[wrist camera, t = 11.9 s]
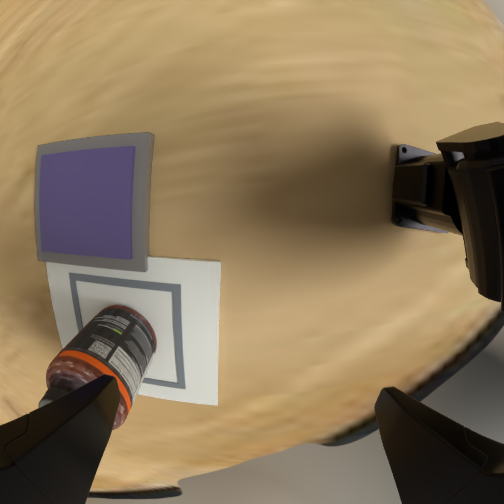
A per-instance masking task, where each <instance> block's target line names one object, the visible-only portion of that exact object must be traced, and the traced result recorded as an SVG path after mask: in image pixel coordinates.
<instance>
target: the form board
mask: <svg viewBox="0 0 504 504" xmlns="http://www.w3.org/2000/svg"><path fill="white" fill-rule="evenodd" d="M46 267H47V275H48V282H49V288H50V294H51V300H52V305H53V310H54V315H55V320H56V324H57V329H58V333H59V337H60V341H61V344H62V348H64V347H65V346H66V345H67V344H68V343H69V342H70V341H71V340H72V339H73V338H74V337H75V336H76V335H77V334H78V333H79V332H80V331H81V330H82V329H83V328H84V327H85V326H86V325H87V324H88V323H89V322H90V320H92V319H93V317H95V316H96V315H97V314H98V313H99V312H100V311H101V310H102V309H104V308H106V307H108V306H112V305H121V306H126V307H129V308H131V309H134V310H135V311H137V312H138V313H140V314H141V315H142V316H143V317H145V318H146V319H147V321H148V322H149V323H150V325H151V326H152V328H153V330H154V332H155V336H156V340H157V348H156V352H155V354H154V357H153V360H152V362H151V364H150V366H149V369H148V371H147V374H146V375H145V377H144V380H143V382H142V384H141V386H140V389H139V391H138V393H137V394H139V395H144V396H149V397H155V398H161V399H167V400H174V401H181V402H189V403H197V404H207V405H218V343H219V307H220V280H221V261H215V260H200V259H186V258H172V257H159V256H148V270H147V271H146V272H135V271H125V270H115V269H105V268H96V267H86V266H78V265H69V264H60V263H52V262H46Z"/></svg>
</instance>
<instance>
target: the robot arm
mask: <svg viewBox="0 0 504 504" xmlns="http://www.w3.org/2000/svg"><path fill="white" fill-rule="evenodd" d="M436 144H437V147H438V149H439V150H440V151H441V154H435V153H432V152H429V151H426V150H422V149H419V148H416V147H412V146H409V145H406V144H401V145H399V146H398V147H397V158H396V167H395V172H394V186H393V210H392V218H391V219H392V223H393V224H394V225H396V226H401V227H408V228H415V229H422V230H429V231H436V232H442V233H448V232H452V233H455V234H458V235H462V236H463V239H464V245H465V252H466V259H465V261H466V267H467V268H468V269H469V273H470V279H471V280H472V282H473V283H474V284H475V286H476V287H477V288H478V293H479V294H481V295H482V296H484V297H486V298H488V299H490V300H493V301H497V302H501V310H502V311H504V123H500V122H494V123H489V124H484V125H480V126H475V127H472V128H470V129H467V130H464V131H462V132H459V133H457V134H454V135H452V136H449V137H447V138H444V139H442V140H440V141H437V142H436ZM402 148H403V149H404V153H403V152H402ZM397 217H399V221H398V222H397V220H396V219H397ZM120 399H121V394H120V390H119V386H118V382H117V379H116V377H114V376H111V375H107V374H104V375H101V376H100V377H98V378H96V379H94V380H92V381H90V382H88V383H87V384H85V385H83V386H81V387H79V388H77V389H75V390H73V391H71V392H69V393H68V394H66V395H64V396H62V397H60V398H58V399H56V400H54V401H52V402H50V403H48V404H46V405H44V406H42V407H40V408H38V409H36V410H34V411H32V412H30V413H29V414H26V415H24V416H22V417H19V418H17V419H15V420H13V421H10V422H8V423H5V424H3V425H0V504H85V502H86V499H87V497H88V494H89V491H90V488H91V485H92V482H93V480H94V477H95V474H96V471H97V469H98V466H99V463H100V461H101V458H102V456H103V453H104V451H105V448H106V446H107V443H108V441H109V438H110V435H111V432H112V428H113V425H114V421H115V417H116V414H117V410H118V407H119V403H120ZM375 414H376V418H377V422H378V426H379V431H380V435H381V439H382V443H383V446H384V449H385V452H386V455H387V458H388V461H389V464H390V467H391V470H392V473H393V476H394V479H395V482H396V486H397V489H398V492H399V495H400V499H401V502H402V504H504V444H502V443H500V442H497V441H494V440H492V439H489V438H487V437H485V436H482V435H480V434H478V433H476V432H474V431H472V430H470V429H468V428H466V427H464V426H463V425H461V424H459V423H457V422H455V421H453V420H451V419H450V418H448V417H446V416H444V415H442V414H440V413H439V412H437V411H435V410H433V409H431V408H430V407H428V406H426V405H424V404H423V403H421V402H419V401H417V400H416V399H414V398H412V397H411V396H409V395H407V394H405V393H404V392H402V391H400V390H399V389H397V388H395V387H385V388H383V389H382V390H381V392H380V394H379V396H378V399H377V401H376V403H375Z"/></svg>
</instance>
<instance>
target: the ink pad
mask: <svg viewBox="0 0 504 504" xmlns="http://www.w3.org/2000/svg"><path fill="white" fill-rule="evenodd" d="M153 144H154V134H152V133H150V132H146V133H129V134H116V135H105V136H96V137H87V138H80V139H73V140H66V141H60V142H54V143H48V144H43V145H38V149H37V160H36V176H35V227H36V243H37V254H38V261H44V262H52V263H60V264H69V265H78V266H86V267H96V268H105V269H115V270H125V271H135V272H146V271H147V270H148V256H149V210H150V185H151V168H152V155H153Z"/></svg>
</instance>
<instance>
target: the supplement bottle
mask: <svg viewBox="0 0 504 504" xmlns="http://www.w3.org/2000/svg"><path fill="white" fill-rule="evenodd" d="M156 348H157V340H156V336H155V332H154V330H153V328H152V326H151V325H150V323H149V322H148V321H147V319H146V318H145V317H143V316H142V315H141V314H140V313H138V312H137V311H135V310H134V309H131V308H129V307H126V306H121V305H112V306H108V307H106V308H104V309H102V310H101V311H100V312H99V313H98V314H97V315H96V316H95V317H93V319H92V320H90V322H89V323H88V324H87V325H86V326H85V327H84V328H83V329H82V330H81V331H80V332H79V333H78V334H77V335H76V336H75V337H74V338H73V339H72V340H71V341H70V342H69V343H68V344H67V345H66V346H65V347H64V348H63V349H62V351H61V352H60V353H59V354H58V355H57V356H56V357H55V358H54V359H53V361H52V362H51V363H50V365H49V367H48V369H47V373H46V382H47V387H48V390H47V391H46V393H45V395H44V397H43V398H42V399H41V401H40V402H39V408H40V407H42V406H44V405H46V404H48V403H50V402H52V401H54V400H56V399H58V398H60V397H62V396H64V395H66V394H68V393H69V392H71V391H73V390H75V389H77V388H79V387H81V386H83V385H85V384H87V383H88V382H90V381H92V380H94V379H96V378H98V377H100V376H101V375H104V374H107V375H111V376H114V377H116V379H117V382H118V386H119V390H120V394H121V399H120V403H119V407H118V410H117V414H116V417H115V421H114V425H113V428H112V430H114V429H117V428H118V427H120V426H121V425H122V424H123V423H124V421H125V419H126V418H127V415H128V413H129V411H130V409H131V407H132V405H133V402H134V400H135V398H136V395H137V393H138V391H139V389H140V386H141V384H142V382H143V380H144V377H145V375H146V374H147V371H148V369H149V366H150V364H151V362H152V360H153V357H154V354H155V352H156Z"/></svg>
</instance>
